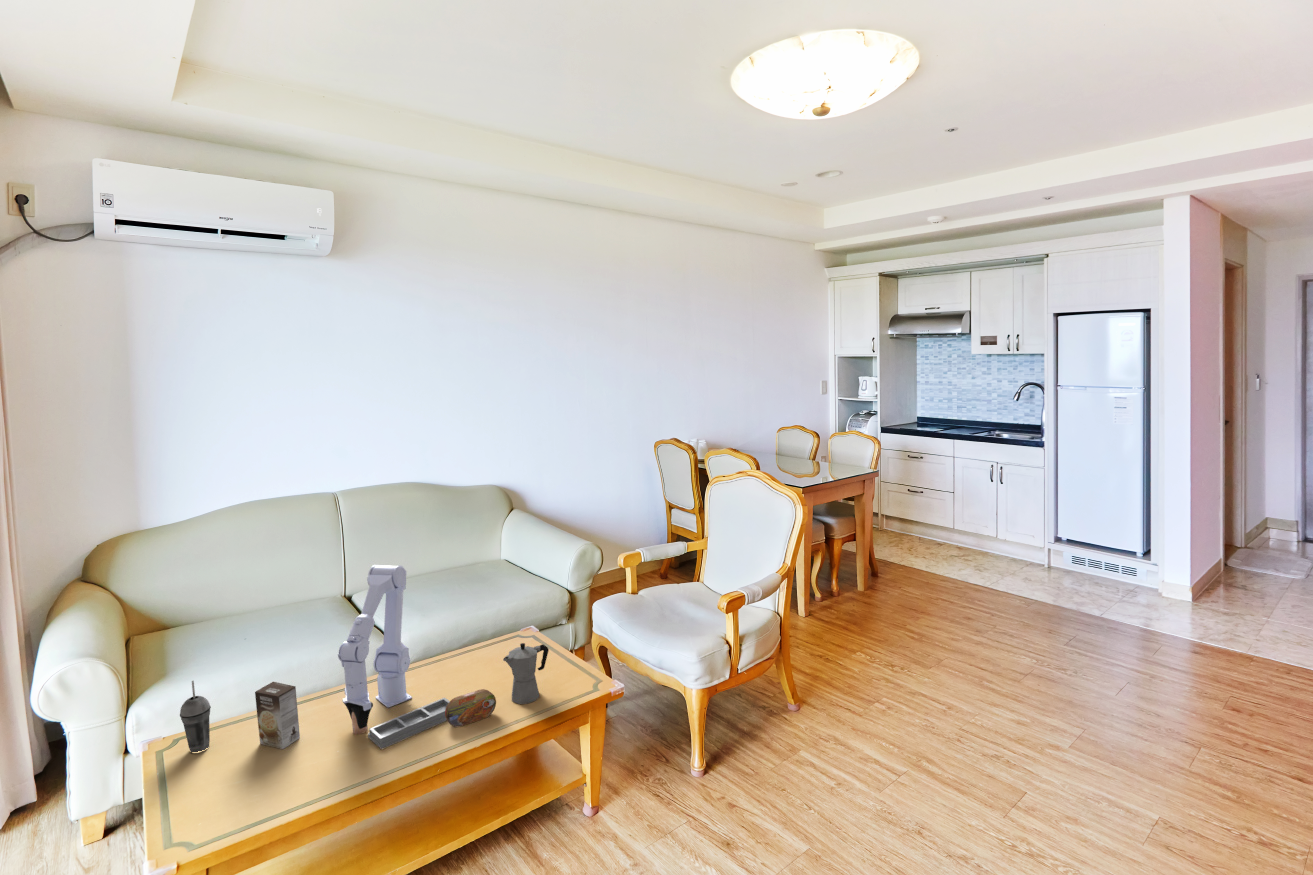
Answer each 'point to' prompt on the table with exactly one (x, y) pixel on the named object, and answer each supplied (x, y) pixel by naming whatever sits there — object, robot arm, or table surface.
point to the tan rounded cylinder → (355, 726)
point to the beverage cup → (196, 721)
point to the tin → (470, 707)
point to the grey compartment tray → (408, 724)
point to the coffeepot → (525, 672)
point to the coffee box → (277, 715)
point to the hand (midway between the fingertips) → (359, 724)
